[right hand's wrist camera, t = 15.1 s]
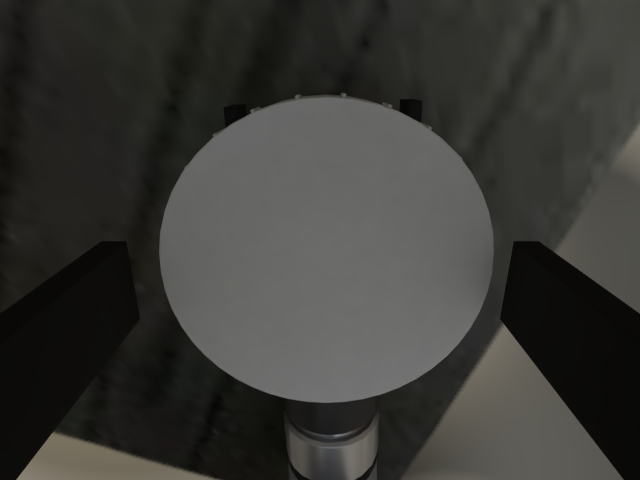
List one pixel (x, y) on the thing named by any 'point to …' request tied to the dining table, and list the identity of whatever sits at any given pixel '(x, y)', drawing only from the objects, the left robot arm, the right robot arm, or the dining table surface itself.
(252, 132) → the lid
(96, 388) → the dining table surface
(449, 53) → the dining table surface
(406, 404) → the dining table surface
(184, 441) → the dining table surface
